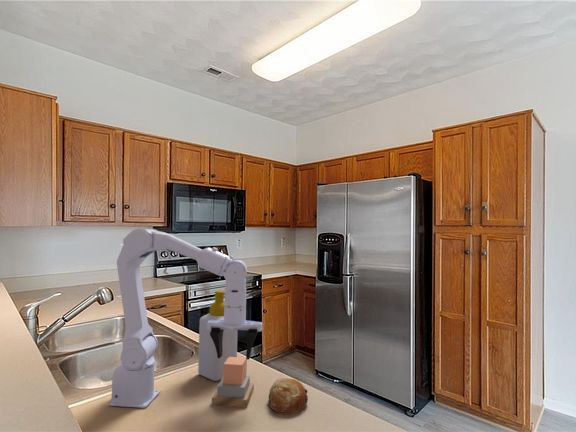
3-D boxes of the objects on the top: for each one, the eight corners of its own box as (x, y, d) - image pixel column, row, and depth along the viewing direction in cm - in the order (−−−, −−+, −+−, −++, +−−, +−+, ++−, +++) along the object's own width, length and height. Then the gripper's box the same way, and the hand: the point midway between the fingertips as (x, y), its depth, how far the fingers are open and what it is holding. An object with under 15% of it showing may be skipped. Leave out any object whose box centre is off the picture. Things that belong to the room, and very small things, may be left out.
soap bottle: (215, 383, 94) (217, 295, 95) (196, 374, 100) (198, 291, 101) (238, 372, 101) (240, 290, 103) (218, 365, 107) (220, 287, 108)
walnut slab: (211, 408, 82) (211, 397, 82) (221, 391, 91) (221, 381, 91) (246, 410, 82) (247, 399, 82) (253, 392, 91) (253, 383, 91)
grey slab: (217, 396, 83) (217, 386, 83) (224, 384, 90) (224, 374, 90) (244, 397, 83) (244, 387, 83) (249, 385, 90) (249, 375, 90)
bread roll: (269, 410, 87) (257, 384, 86) (301, 388, 91) (290, 363, 90) (282, 431, 78) (268, 403, 77) (317, 406, 81) (305, 378, 80)
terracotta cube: (228, 375, 90) (229, 356, 90) (246, 376, 89) (246, 357, 89) (222, 383, 85) (223, 363, 85) (241, 384, 84) (242, 365, 84)
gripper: (203, 308, 84) (202, 362, 83) (259, 309, 83) (258, 364, 82) (212, 302, 91) (210, 352, 90) (263, 303, 90) (263, 354, 89)
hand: (234, 357), depth 87 cm, fingers open, 7 cm apart
